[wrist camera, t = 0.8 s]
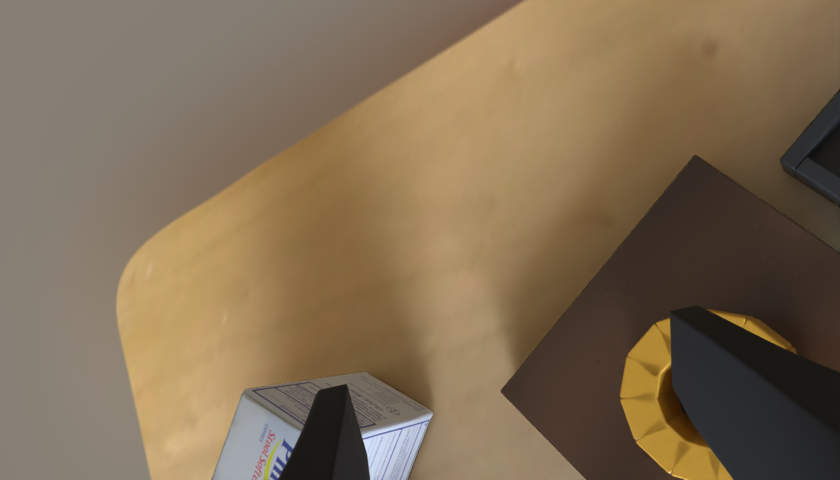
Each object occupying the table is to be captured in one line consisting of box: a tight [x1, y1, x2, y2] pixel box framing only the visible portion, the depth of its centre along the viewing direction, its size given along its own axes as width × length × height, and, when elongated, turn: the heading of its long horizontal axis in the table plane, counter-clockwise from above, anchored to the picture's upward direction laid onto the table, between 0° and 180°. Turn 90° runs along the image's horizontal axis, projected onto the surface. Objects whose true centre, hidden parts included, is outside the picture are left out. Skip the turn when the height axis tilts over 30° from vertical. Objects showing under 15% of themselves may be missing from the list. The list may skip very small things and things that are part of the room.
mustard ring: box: [620, 309, 798, 480], centre depth 23 cm, size 5×5×3 cm
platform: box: [501, 155, 840, 480], centre depth 24 cm, size 12×12×5 cm
